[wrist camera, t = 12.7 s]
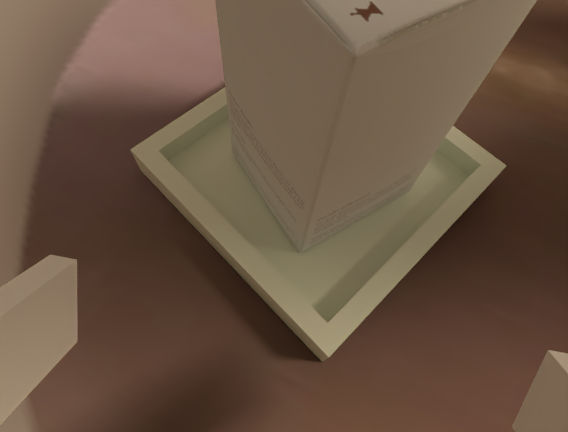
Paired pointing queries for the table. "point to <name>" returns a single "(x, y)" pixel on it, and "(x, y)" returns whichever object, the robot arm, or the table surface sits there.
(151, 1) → the table surface
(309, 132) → the supplement box
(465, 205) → the tray
